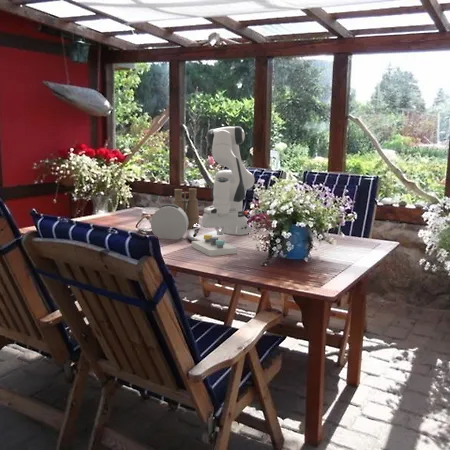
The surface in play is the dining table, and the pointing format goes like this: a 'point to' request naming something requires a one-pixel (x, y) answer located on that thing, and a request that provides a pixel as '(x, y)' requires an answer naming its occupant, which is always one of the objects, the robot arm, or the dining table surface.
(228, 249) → the panel
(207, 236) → the button mustard
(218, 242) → the button teal
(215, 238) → the button charcoal
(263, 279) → the dining table surface
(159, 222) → the grey round slab
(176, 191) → the binoculars
